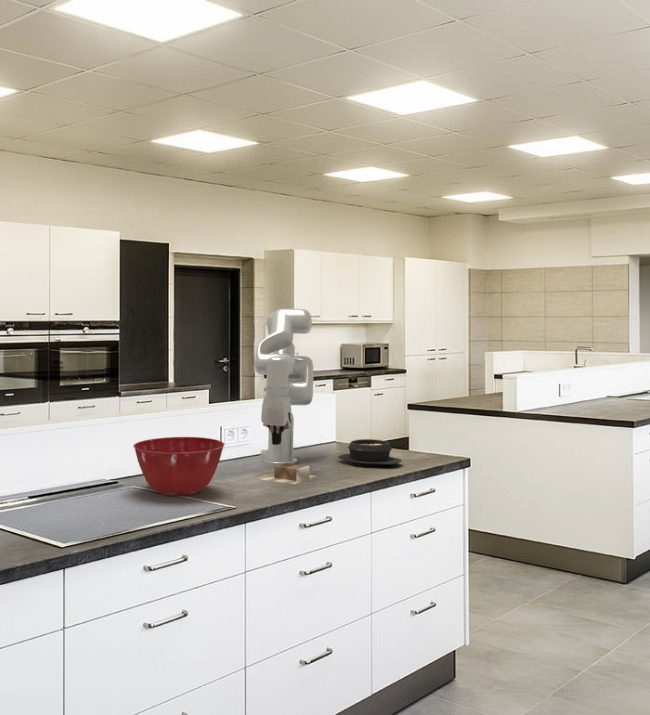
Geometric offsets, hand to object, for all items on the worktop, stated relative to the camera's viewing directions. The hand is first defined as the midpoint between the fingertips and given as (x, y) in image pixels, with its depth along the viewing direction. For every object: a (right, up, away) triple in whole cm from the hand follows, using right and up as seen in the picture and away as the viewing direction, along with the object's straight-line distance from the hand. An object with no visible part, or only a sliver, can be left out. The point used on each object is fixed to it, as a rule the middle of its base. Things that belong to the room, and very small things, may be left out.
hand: (276, 444), depth 287 cm
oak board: (+4, -12, -2) cm, 13 cm away
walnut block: (+1, -9, -1) cm, 9 cm away
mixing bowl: (-30, -13, -25) cm, 41 cm away
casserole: (+34, -11, +29) cm, 46 cm away
